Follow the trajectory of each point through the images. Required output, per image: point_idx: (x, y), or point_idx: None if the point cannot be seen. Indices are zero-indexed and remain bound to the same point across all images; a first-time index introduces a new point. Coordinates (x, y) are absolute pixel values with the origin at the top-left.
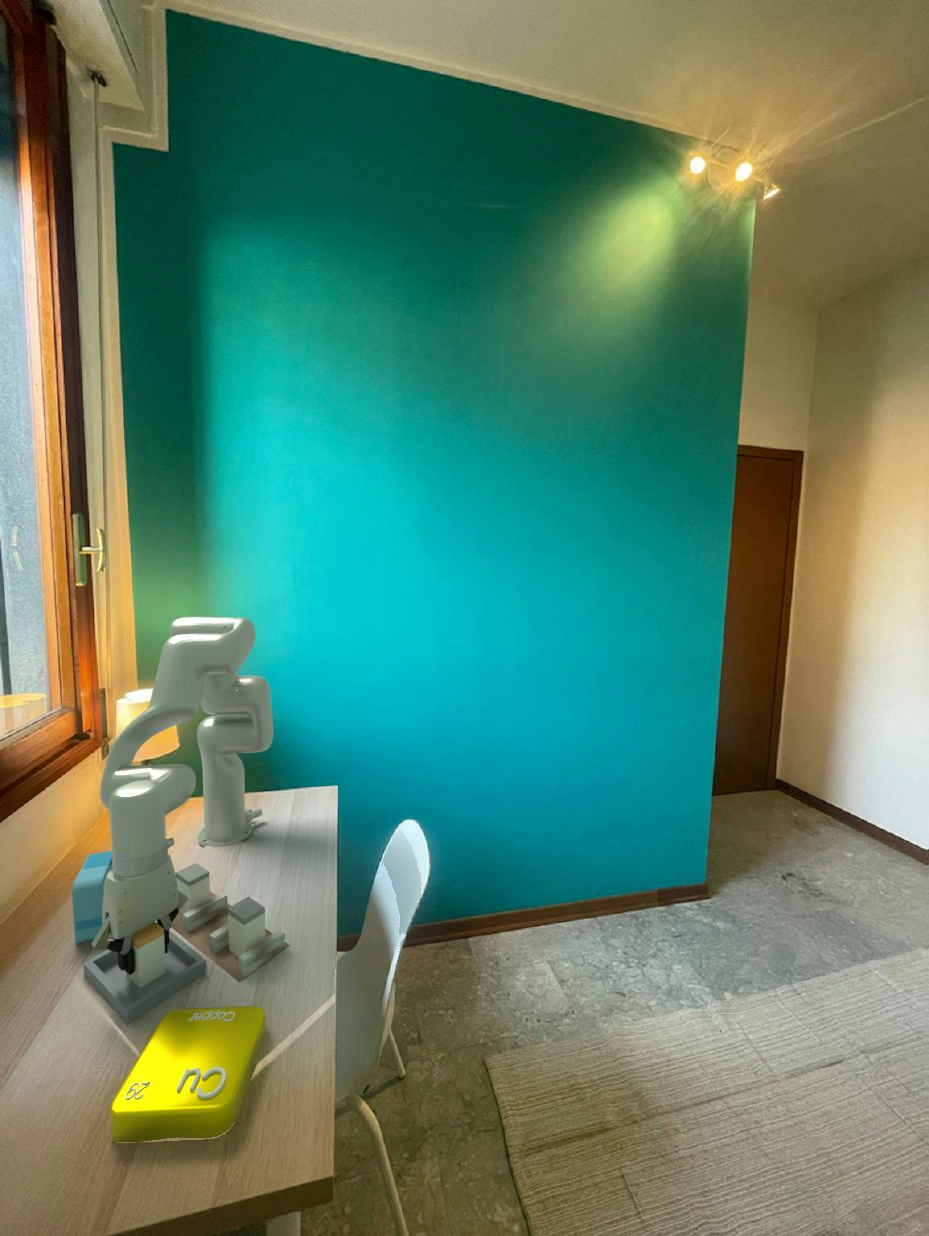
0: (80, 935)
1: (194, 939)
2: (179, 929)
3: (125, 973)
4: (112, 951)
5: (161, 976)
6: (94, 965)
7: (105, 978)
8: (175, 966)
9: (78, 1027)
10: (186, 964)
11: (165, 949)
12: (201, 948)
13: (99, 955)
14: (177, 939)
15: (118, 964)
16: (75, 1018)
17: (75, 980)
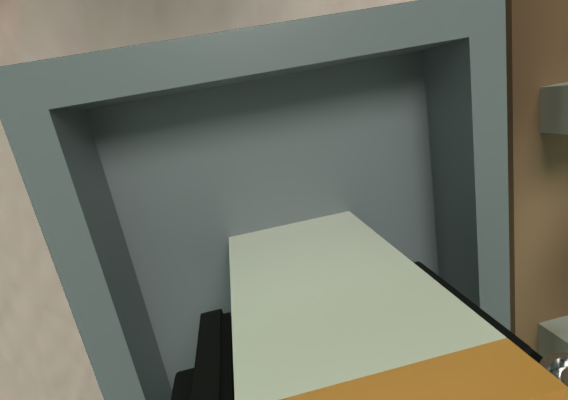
0: None
1: (535, 211)
2: (528, 73)
3: (228, 228)
4: (183, 84)
5: None
6: (58, 159)
7: (110, 334)
8: None
9: (18, 387)
10: None
11: None
12: (524, 292)
13: (97, 68)
14: (499, 262)
15: (174, 380)
16: (5, 330)
17: (3, 49)
